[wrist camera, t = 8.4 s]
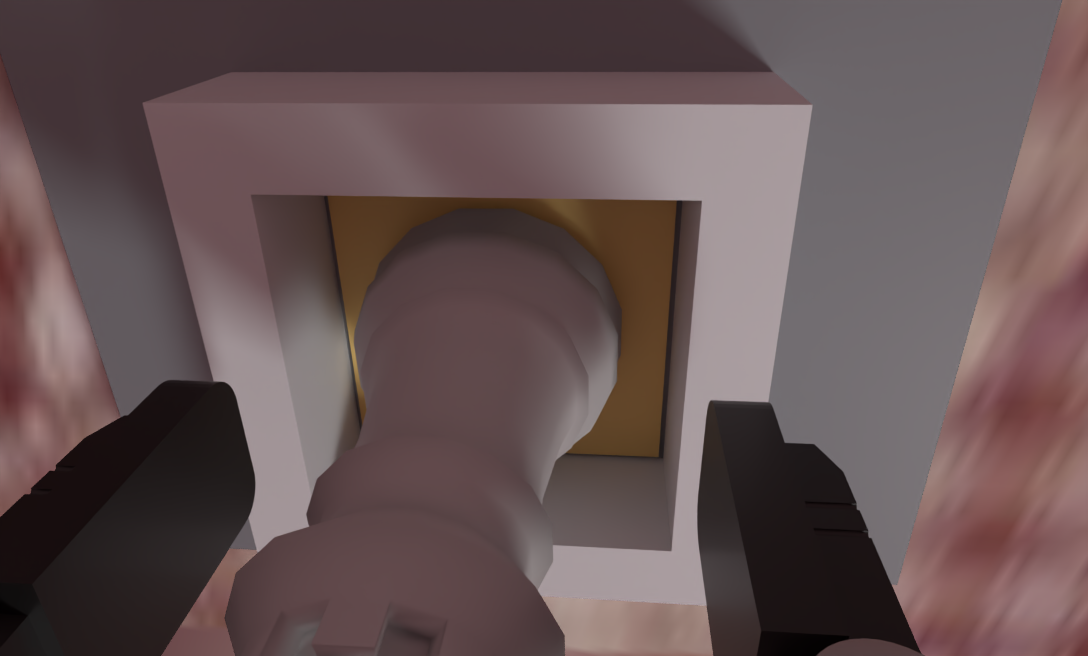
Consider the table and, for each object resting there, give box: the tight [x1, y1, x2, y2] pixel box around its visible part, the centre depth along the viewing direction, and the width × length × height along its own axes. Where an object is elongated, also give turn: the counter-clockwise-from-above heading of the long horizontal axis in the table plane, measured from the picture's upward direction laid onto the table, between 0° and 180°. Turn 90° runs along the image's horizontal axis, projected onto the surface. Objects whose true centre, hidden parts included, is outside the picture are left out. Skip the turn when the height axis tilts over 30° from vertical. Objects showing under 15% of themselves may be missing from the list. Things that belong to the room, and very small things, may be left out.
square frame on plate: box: [0, 0, 1062, 606], centre depth 13 cm, size 16×12×4 cm
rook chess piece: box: [225, 209, 622, 656], centre depth 10 cm, size 4×4×8 cm
